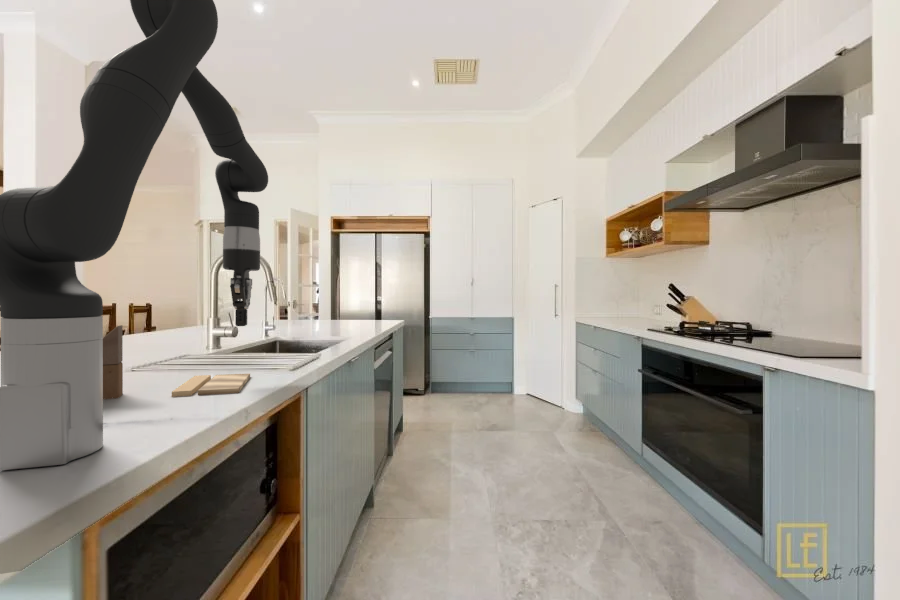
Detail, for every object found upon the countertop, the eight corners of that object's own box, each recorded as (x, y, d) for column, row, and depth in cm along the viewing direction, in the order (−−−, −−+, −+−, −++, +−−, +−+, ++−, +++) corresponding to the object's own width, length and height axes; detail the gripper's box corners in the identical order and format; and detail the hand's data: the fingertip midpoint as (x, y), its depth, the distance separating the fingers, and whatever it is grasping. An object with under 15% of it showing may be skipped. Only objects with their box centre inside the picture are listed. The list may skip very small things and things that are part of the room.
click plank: (238, 395, 82) (238, 388, 82) (197, 397, 79) (197, 390, 79) (250, 379, 97) (250, 373, 97) (216, 380, 95) (216, 374, 95)
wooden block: (118, 402, 77) (118, 305, 77) (40, 410, 72) (39, 305, 72) (123, 398, 80) (123, 304, 80) (48, 405, 75) (48, 305, 75)
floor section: (239, 397, 81) (239, 388, 81) (170, 401, 78) (170, 392, 78) (251, 380, 97) (251, 372, 97) (195, 383, 94) (195, 375, 94)
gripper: (256, 246, 89) (255, 327, 89) (263, 252, 101) (262, 323, 101) (216, 244, 86) (216, 328, 86) (228, 251, 99) (228, 324, 99)
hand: (241, 325), depth 94 cm, fingers closed
